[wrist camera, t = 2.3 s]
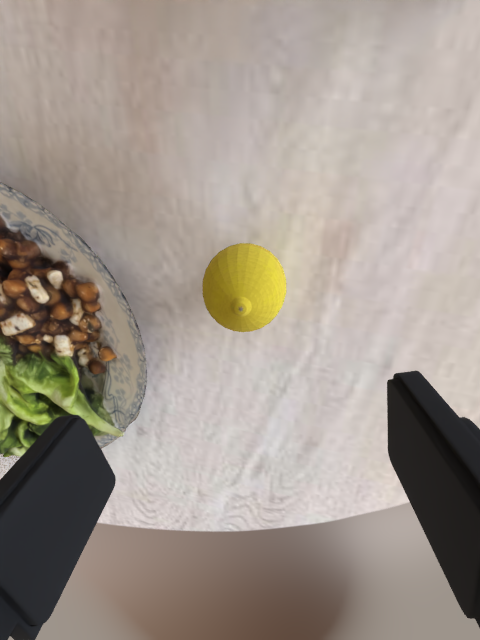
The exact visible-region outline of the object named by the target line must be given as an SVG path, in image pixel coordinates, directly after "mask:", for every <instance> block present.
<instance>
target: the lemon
mask: <svg viewBox="0 0 480 640" xmlns="http://www.w3.org/2000/svg"><path fill="white" fill-rule="evenodd" d="M285 295H286V278H285V274H284V271H283V268H282V266H281V265H280V263H279V261H278V259H277V258H276V257H275V256H274V255H273V254H272V253H271V252H270V251H268V250H266V249H264V248H263V247H261V246H258V245H254V244H244V243H240V244H236V245H232V246H229V247H227V248H226V249H224V250H222V251H220V252H219V253H218V254H217V255H216V256H215V257H214V258H213V259H212V260H211V262H210V264H209V265H208V267H207V269H206V271H205V275H204V279H203V298H204V302H205V305H206V308H207V309H208V311H209V313H210V315H211V316H212V317H213V318H214V319H215V320H216V321H217V322H218V323H219V324H220V325H222V326H224V327H225V328H228V329H230V330H233V331H239V332H249V331H254V330H257V329H260V328H262V327H264V326H265V325H267V324H268V323H270V322H271V321H272V320H273V319H274V318H275V317H276V315H277V314H278V312H279V310H280V309H281V307H282V305H283V303H284V299H285Z"/></svg>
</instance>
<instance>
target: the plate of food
mask: <svg viewBox="0 0 480 640" xmlns="http://www.w3.org/2000/svg"><path fill="white" fill-rule="evenodd" d="M146 383H147V369H146V358H145V350H144V345H143V342H142V339H141V335H140V332H139V328H138V326H137V323H136V321H135V319H134V316H133V314H132V311H131V309H130V307H129V304H128V302H127V300H126V298H125V297H124V295H123V293H122V292H121V290H120V289H119V287H118V285H117V284H116V282H115V280H114V278H113V277H112V275H111V274H110V272H109V271H108V269H107V268H106V267H105V265H104V264H103V262H102V261H101V260H100V259H99V257H98V256H97V255H96V254H95V253H94V252H93V251H92V250H91V249H90V247H89V246H88V245H87V244H86V243H85V242H84V240H83V239H82V238H80V237H79V236H78V235H77V234H75V233H74V232H72V231H71V230H70V229H69V228H67V227H66V226H65V225H64V224H63V223H62V222H61V221H59V220H58V219H57V218H56V217H55V216H54V215H53V214H51V213H50V212H49V211H48V210H46V209H45V208H43V207H42V206H41V205H39V204H37V203H36V202H35V201H33V200H31V199H30V198H28V197H27V196H25V195H23V194H22V193H20V192H18V191H16V190H15V189H13V188H11V187H9V186H7V185H5V184H3V183H0V454H4V455H3V456H4V457H9V456H11V455H15V456H22V455H23V454H24V453H25V452H26V451H27V450H28V449H29V447H30V446H31V445H32V444H33V443H34V442H35V441H36V440H37V439H38V437H39V436H40V435H41V434H42V433H43V432H44V431H45V430H46V429H47V427H48V426H49V425H50V424H51V423H52V422H53V421H54V420H55V419H56V418H57V417H60V416H68V415H79V416H80V417H81V418H82V419H84V420H85V421H86V422H87V424H88V426H89V428H90V430H91V432H92V434H93V435H94V437H95V439H96V441H97V443H98V445H99V447H100V449H101V448H103V447H105V446H107V445H108V444H110V443H112V442H113V441H114V440H116V439H117V438H119V437H120V436H123V435H124V431H125V430H126V428H127V426H128V425H129V424H130V423H132V422H133V421H134V420H135V419H136V418H137V416H138V414H139V411H140V408H141V404H142V401H143V398H144V395H145V389H146Z"/></svg>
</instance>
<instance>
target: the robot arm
mask: <svg viewBox="0 0 480 640" xmlns="http://www.w3.org/2000/svg"><path fill="white" fill-rule="evenodd" d="M387 405H388V453H389V457H390V460H391V463H392V465H393V467H394V470H395V472H396V474H397V476H398V478H399V480H400V482H401V484H402V486H403V488H404V490H405V493H406V495H407V497H408V499H409V501H410V503H411V505H412V507H413V509H414V511H415V513H416V515H417V518H418V520H419V522H420V524H421V526H422V528H423V530H424V532H425V534H426V536H427V539H428V540H429V543H430V545H431V547H432V549H433V551H434V553H435V555H436V557H437V559H438V562H439V563H440V566H441V568H442V570H443V572H444V574H445V576H446V578H447V580H448V582H449V585H450V587H451V589H452V591H453V593H454V595H455V597H456V599H457V601H458V603H459V605H460V607H461V609H462V610H463V612H464V614H465V615H466V616H467V618H475V619H476V621H477V623H478V625H479V627H480V429H479V428H478V427H477V426H476V425H475V424H474V423H473V422H472V421H471V420H470V419H467V418H465V417H462V418H459V417H458V415H457V414H456V413H455V412H454V411H453V410H452V409H451V407H450V406H449V405H448V404H447V403H446V402H445V401H444V399H443V398H442V397H441V396H440V395H439V394H438V393H437V391H436V390H435V389H434V388H433V387H432V386H431V385H430V383H429V382H428V381H427V380H426V379H425V378H424V377H423V375H422V374H421V373H420V372H419V371H411V372H403V373H396V374H394V377H393V379H391V380H388V382H387ZM114 486H115V475H114V473H113V471H112V469H111V467H110V466H109V464H108V462H107V460H106V458H105V456H104V454H103V452H102V451H101V449H100V447H99V445H98V443H97V441H96V439H95V437H94V435H93V434H92V432H91V430H90V428H89V426H88V424H87V422H86V421H85V420H84V419H82V418H81V417H80V416H79V415H68V416H60V417H57V418H56V419H55V420H54V421H53V422H52V423H51V424H50V425H49V426H48V427H47V429H46V430H45V431H44V432H43V433H42V434H41V435H40V436H39V437H38V439H37V440H36V441H35V442H34V443H33V444H32V445H31V446H30V447H29V449H28V450H27V451H26V452H25V453H24V454H23V455H22V456H21V458H20V459H19V460H18V461H17V462H16V463H15V464H14V465H13V466H12V468H11V469H10V470H9V471H8V472H7V473H6V474H5V475H4V476H3V478H2V479H1V480H0V640H8V638H9V636H11V637H12V638H13V639H14V640H35V639H36V637H37V635H38V633H39V631H40V629H41V627H42V625H43V623H45V622H46V621H47V620H48V619H49V617H50V616H51V614H52V612H53V610H54V608H55V606H56V604H57V602H58V600H59V598H60V596H61V594H62V592H63V590H64V588H65V586H66V583H67V582H68V580H69V578H70V576H71V574H72V571H73V570H74V568H75V565H76V564H77V561H78V559H79V557H80V555H81V553H82V551H83V549H84V547H85V545H86V543H87V541H88V539H89V537H90V535H91V533H92V531H93V529H94V527H95V525H96V523H97V521H98V519H99V517H100V515H101V513H102V511H103V509H104V507H105V505H106V503H107V501H108V499H109V497H110V495H111V493H112V491H113V489H114Z"/></svg>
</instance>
